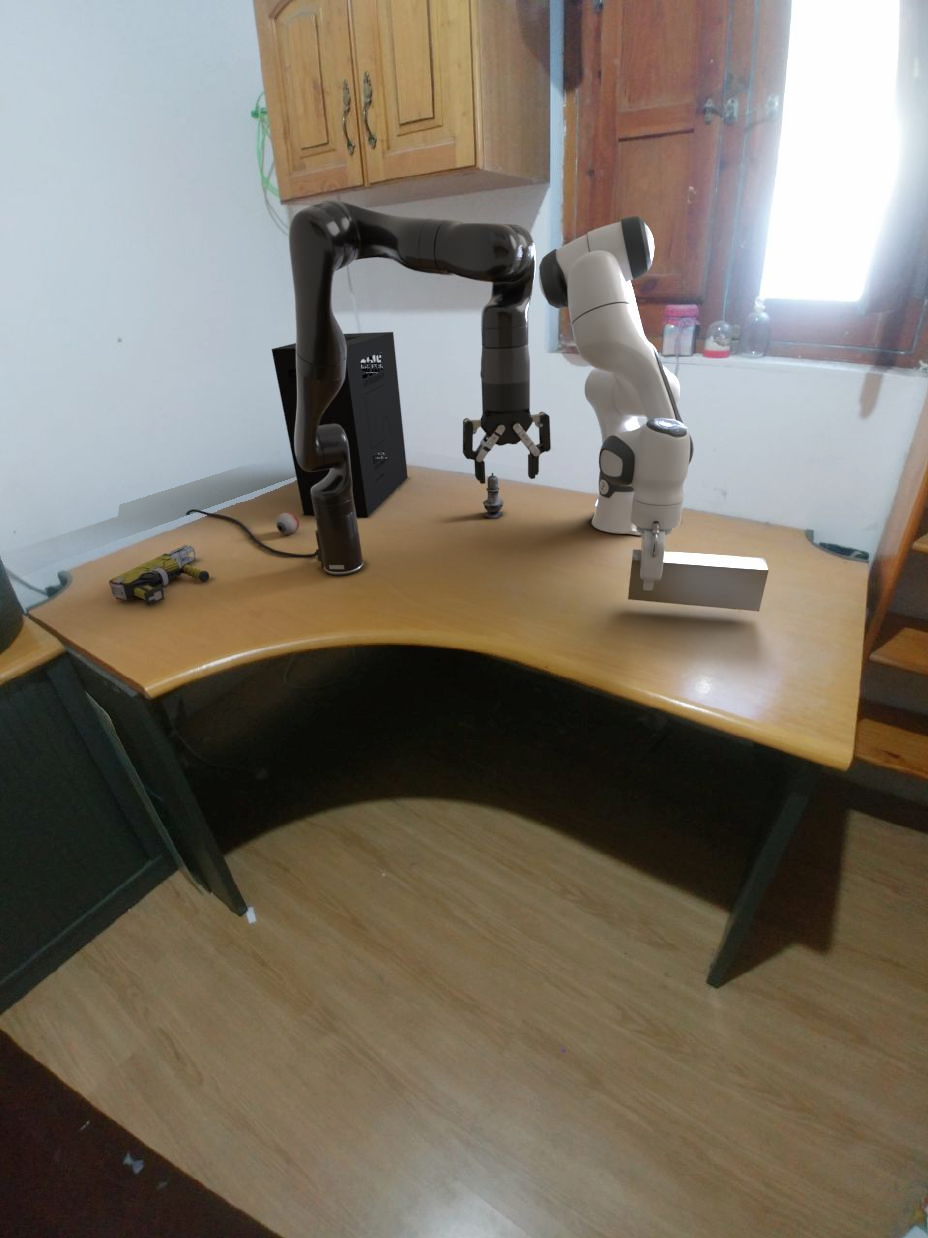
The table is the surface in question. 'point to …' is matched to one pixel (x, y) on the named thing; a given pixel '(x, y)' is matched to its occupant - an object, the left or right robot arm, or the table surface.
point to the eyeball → (287, 523)
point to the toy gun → (155, 576)
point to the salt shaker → (493, 499)
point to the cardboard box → (356, 419)
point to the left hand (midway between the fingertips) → (507, 480)
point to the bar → (703, 581)
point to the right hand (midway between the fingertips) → (647, 581)
